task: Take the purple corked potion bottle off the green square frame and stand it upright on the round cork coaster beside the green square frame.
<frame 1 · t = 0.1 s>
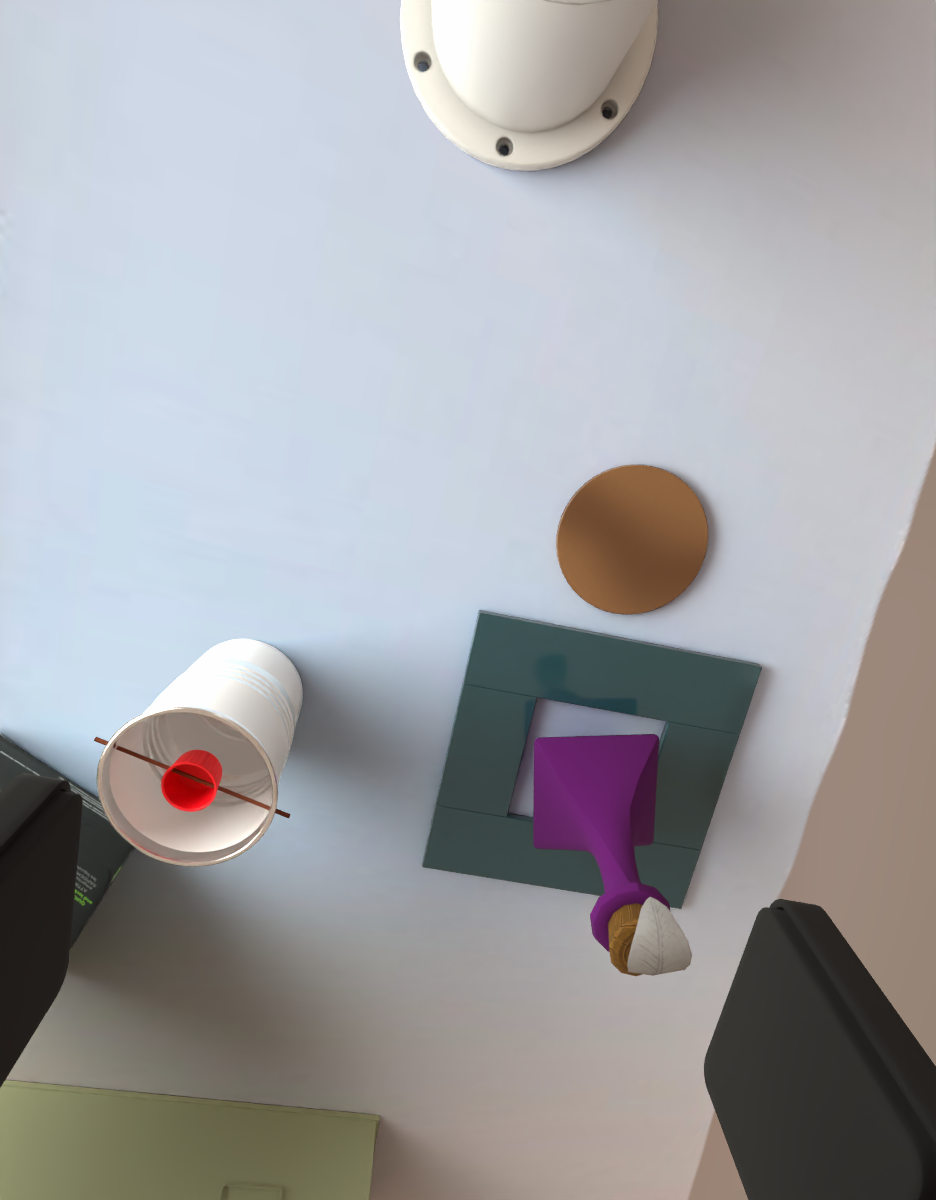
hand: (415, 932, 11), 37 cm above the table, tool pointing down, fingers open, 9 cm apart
box: (20, 848, 52), on the table
purple corked potion bottle: (585, 765, 51), resting in green square frame
coaster: (631, 540, 47), on the table
striped cup with float: (247, 689, 49), on the table
ammunition box: (152, 1137, 59), on the table
green square frame: (585, 765, 51), on the table
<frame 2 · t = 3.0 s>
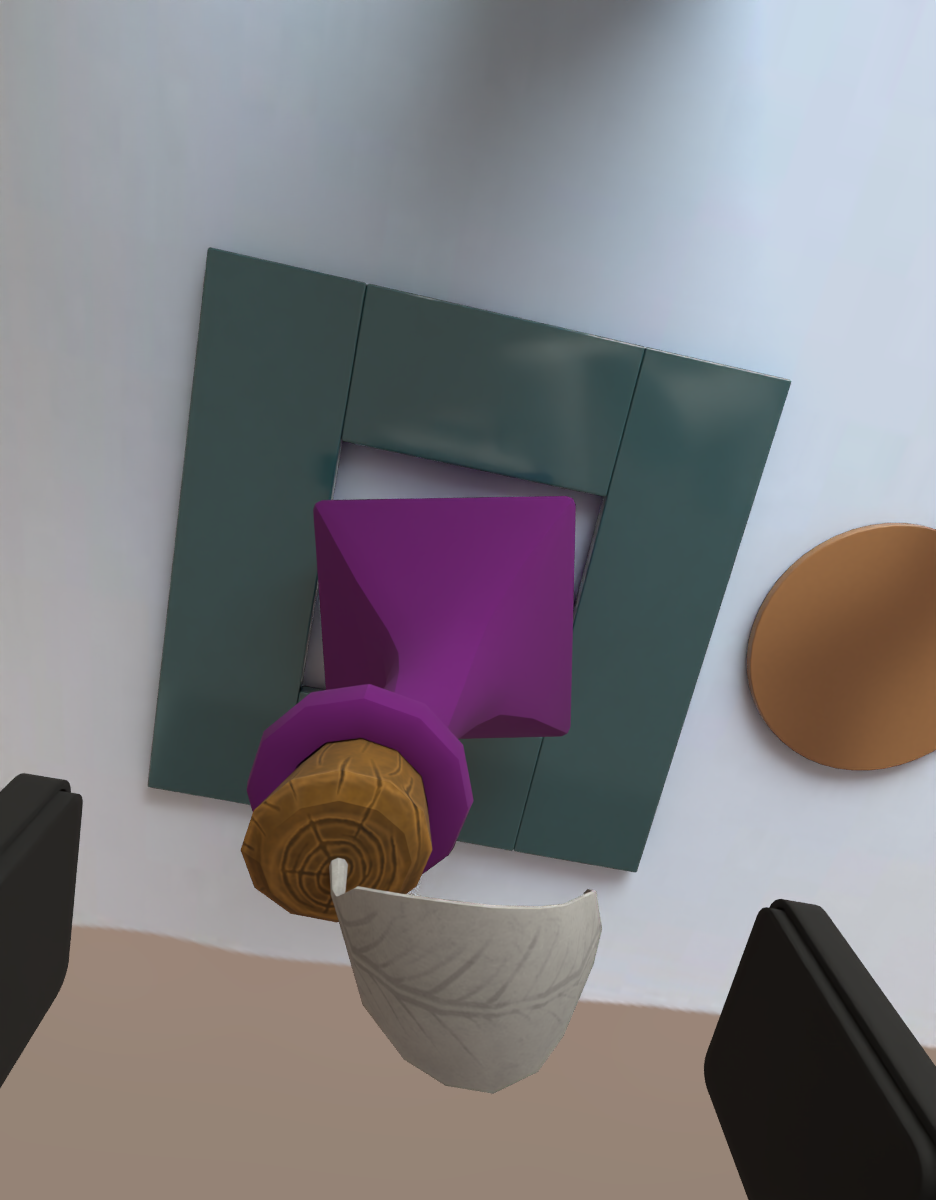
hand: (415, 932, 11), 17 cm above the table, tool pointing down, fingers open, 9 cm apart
purple corked potion bottle: (448, 592, 27), resting in green square frame
coaster: (874, 649, 28), on the table
green square frame: (448, 592, 27), on the table
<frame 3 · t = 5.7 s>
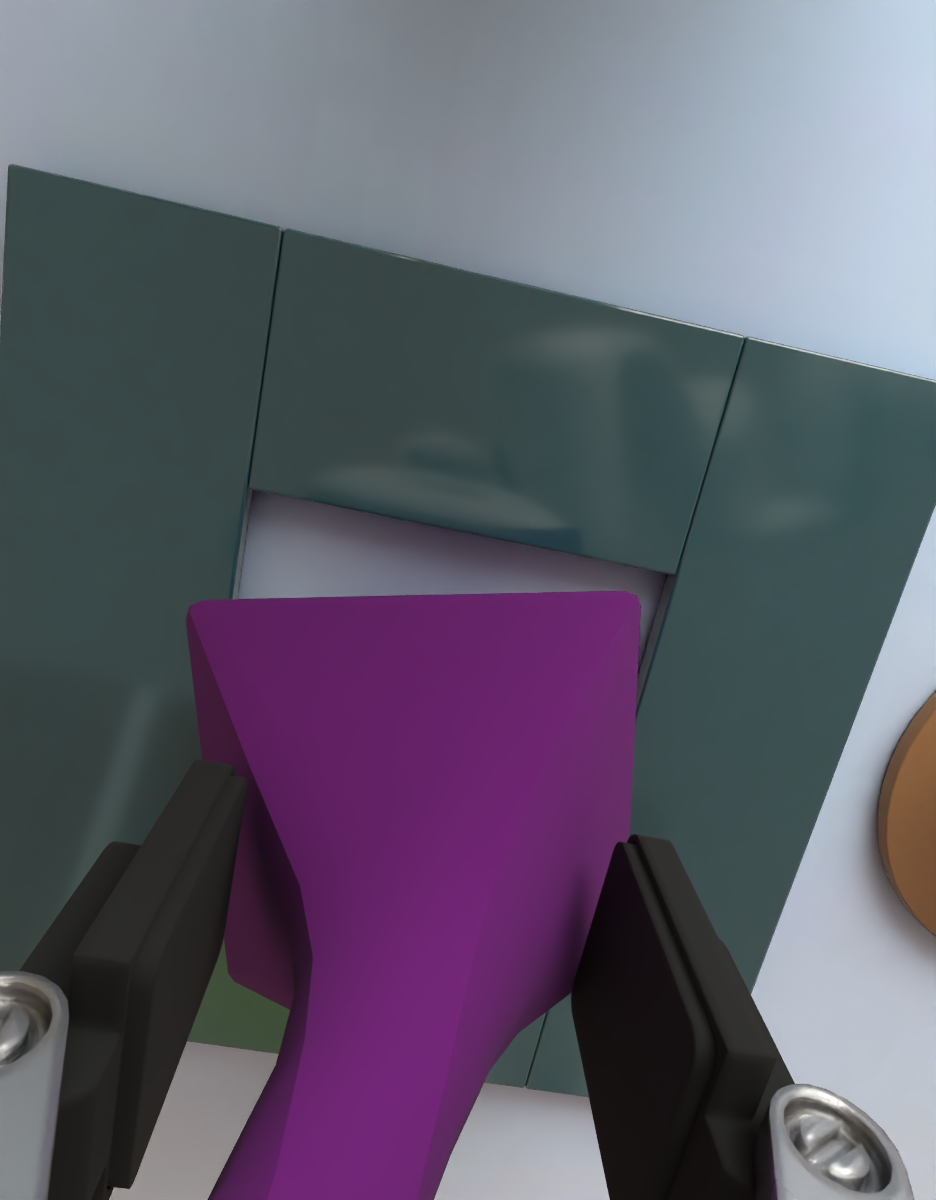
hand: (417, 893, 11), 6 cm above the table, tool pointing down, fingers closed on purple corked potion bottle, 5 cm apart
purple corked potion bottle: (425, 717, 17), resting in green square frame, touching gripper
green square frame: (424, 718, 17), on the table
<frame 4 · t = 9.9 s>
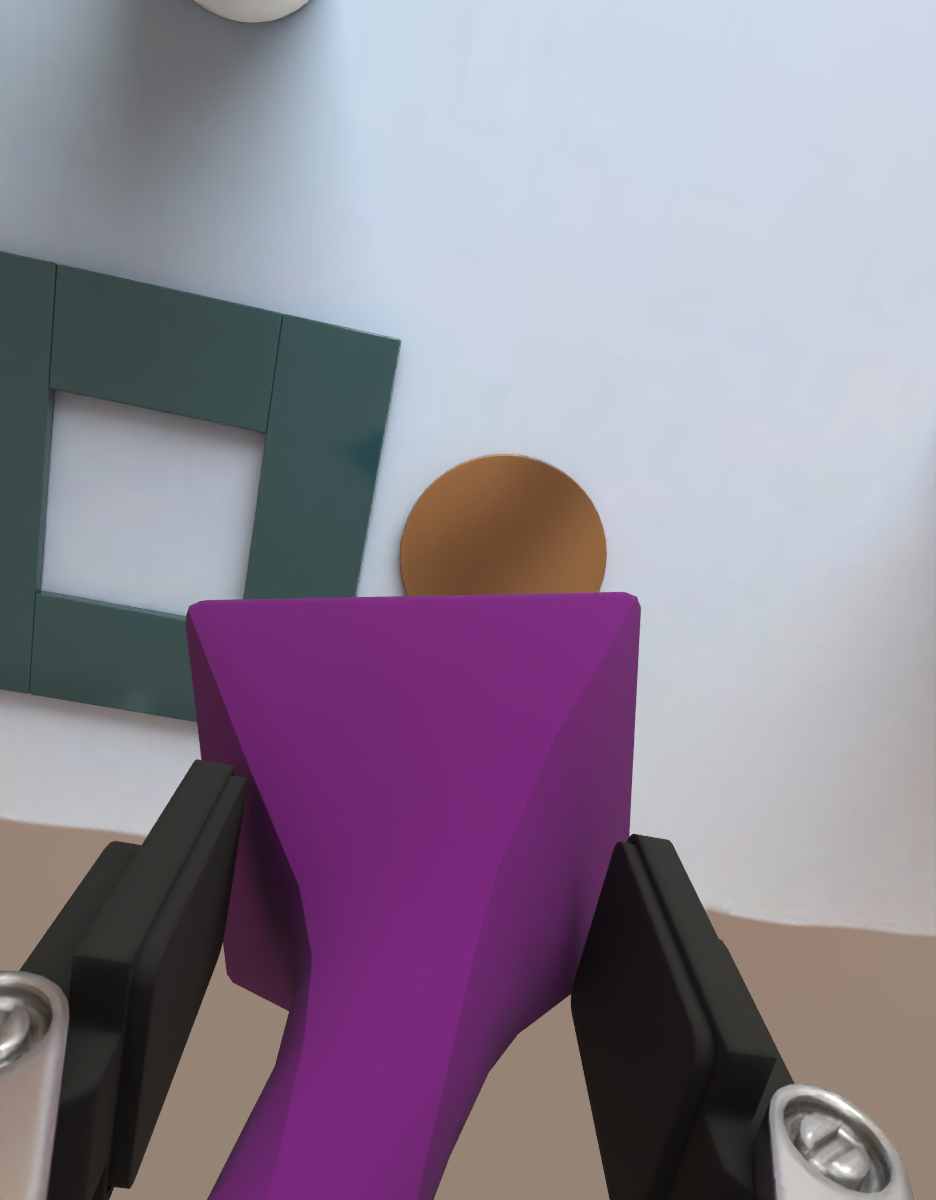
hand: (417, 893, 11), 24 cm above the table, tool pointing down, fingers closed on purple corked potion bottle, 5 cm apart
purple corked potion bottle: (424, 718, 17), point 18 cm above the table, touching gripper
coaster: (503, 557, 35), on the table
green square frame: (152, 512, 33), on the table
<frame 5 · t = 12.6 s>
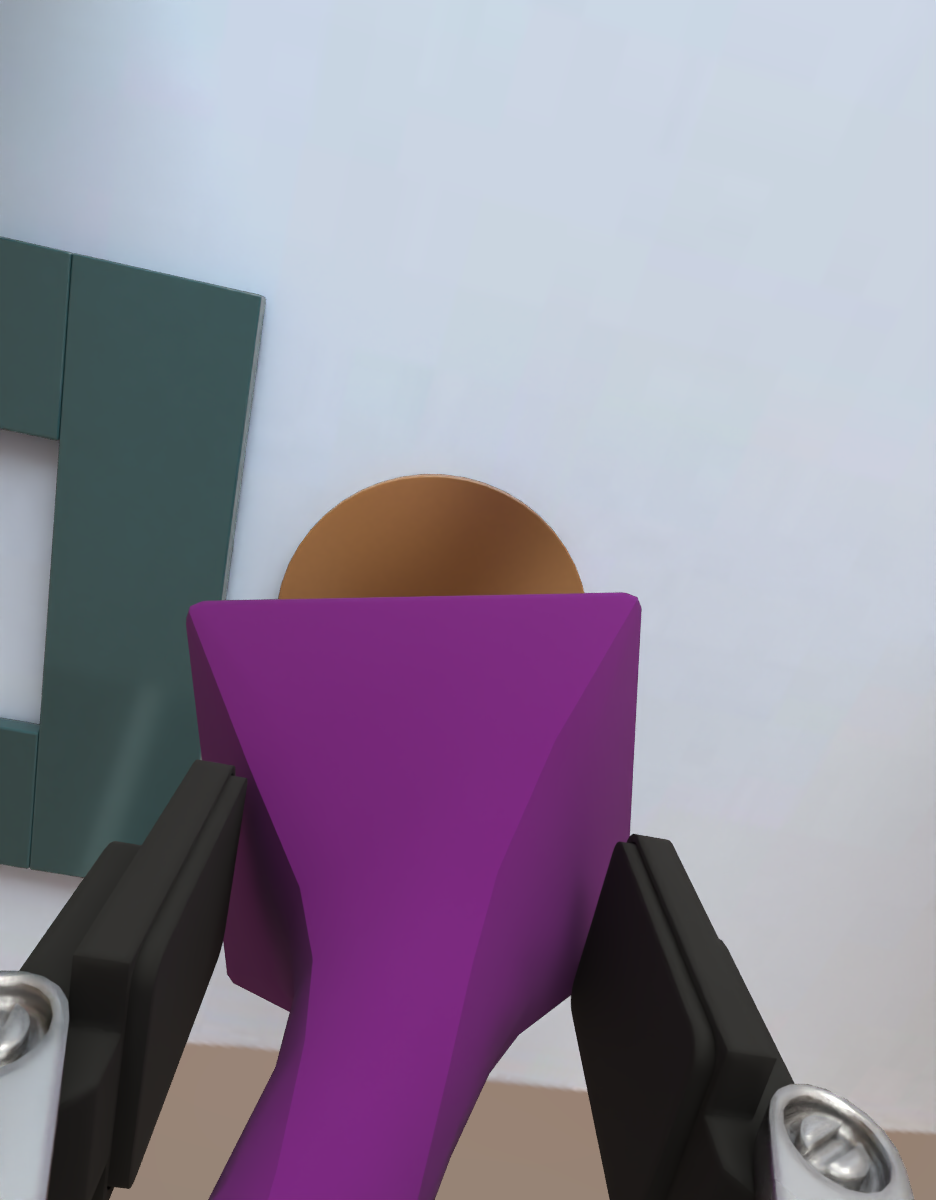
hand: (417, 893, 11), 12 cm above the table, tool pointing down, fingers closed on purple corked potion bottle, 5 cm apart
purple corked potion bottle: (425, 718, 17), point 6 cm above the table, touching gripper
coaster: (433, 627, 23), on the table
when the fingers open (6 cm above the table, at t = 14.4 s): purple corked potion bottle stays where it is, resting on coaster.
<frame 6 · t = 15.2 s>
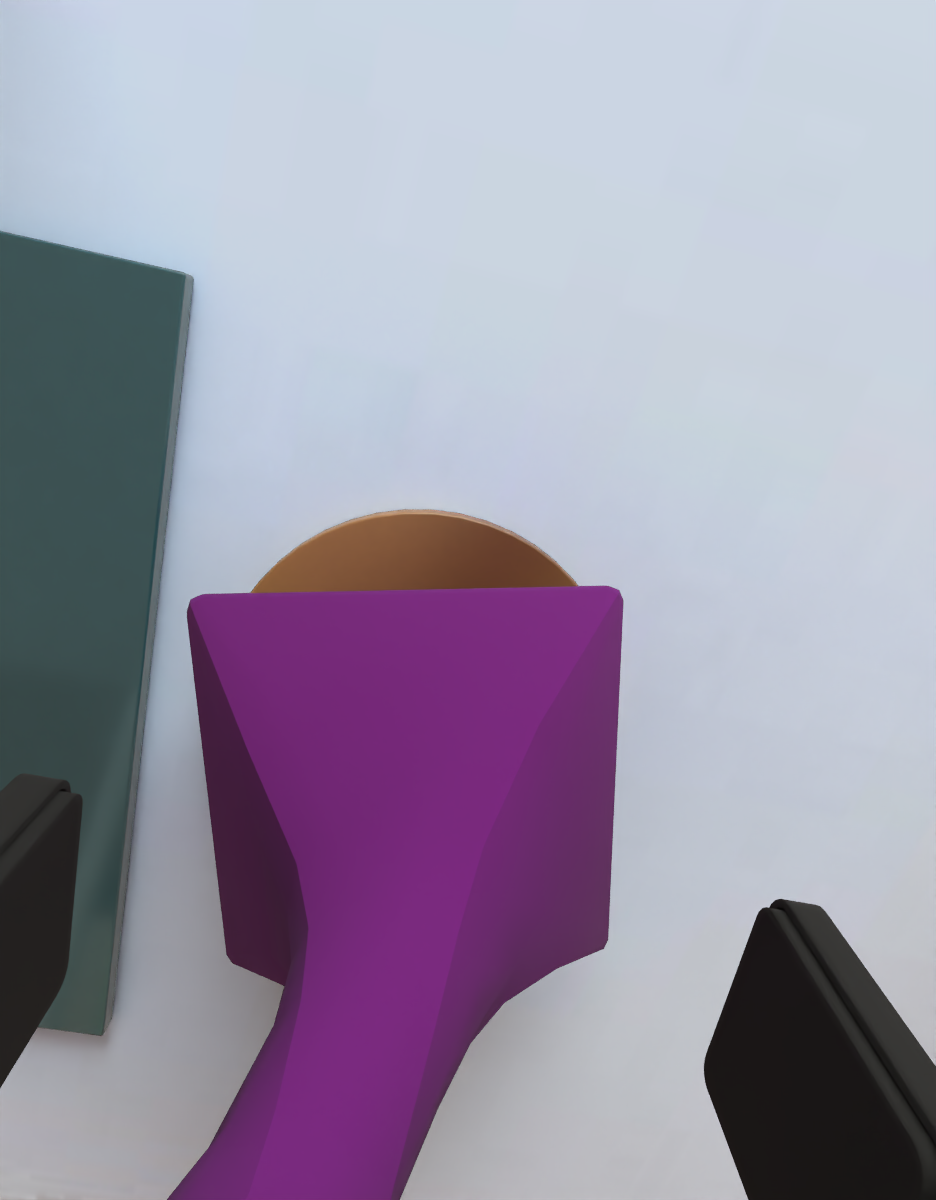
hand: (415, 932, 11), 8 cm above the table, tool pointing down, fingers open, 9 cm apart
purple corked potion bottle: (417, 709, 18), resting on coaster
coaster: (419, 704, 18), on the table
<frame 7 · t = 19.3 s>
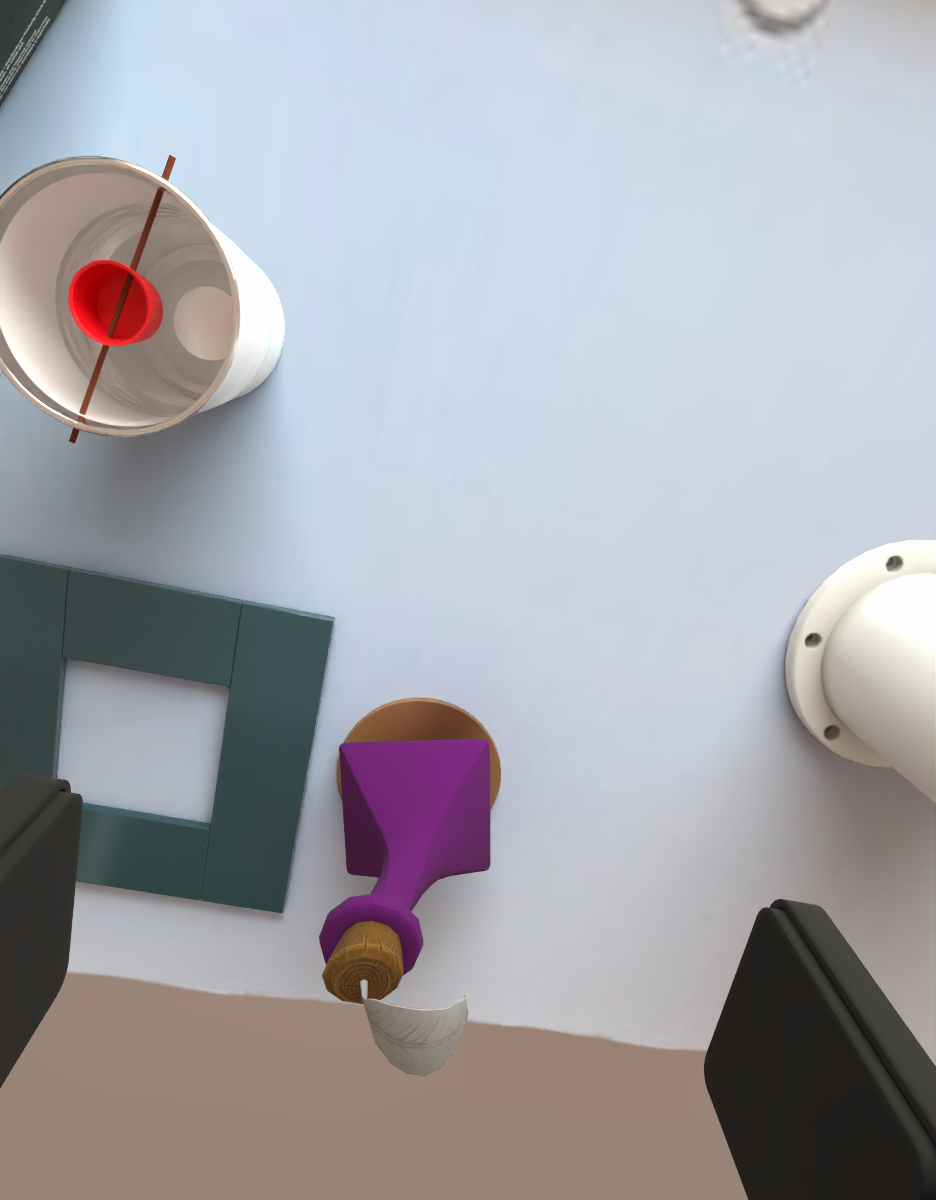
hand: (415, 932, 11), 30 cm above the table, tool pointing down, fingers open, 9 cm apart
purple corked potion bottle: (418, 775, 43), resting on coaster
coaster: (419, 772, 44), on the table
striped cup with float: (211, 324, 37), on the table
green square frame: (142, 741, 43), on the table
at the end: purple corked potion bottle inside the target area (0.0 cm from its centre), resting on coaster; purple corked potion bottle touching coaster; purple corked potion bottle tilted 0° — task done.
